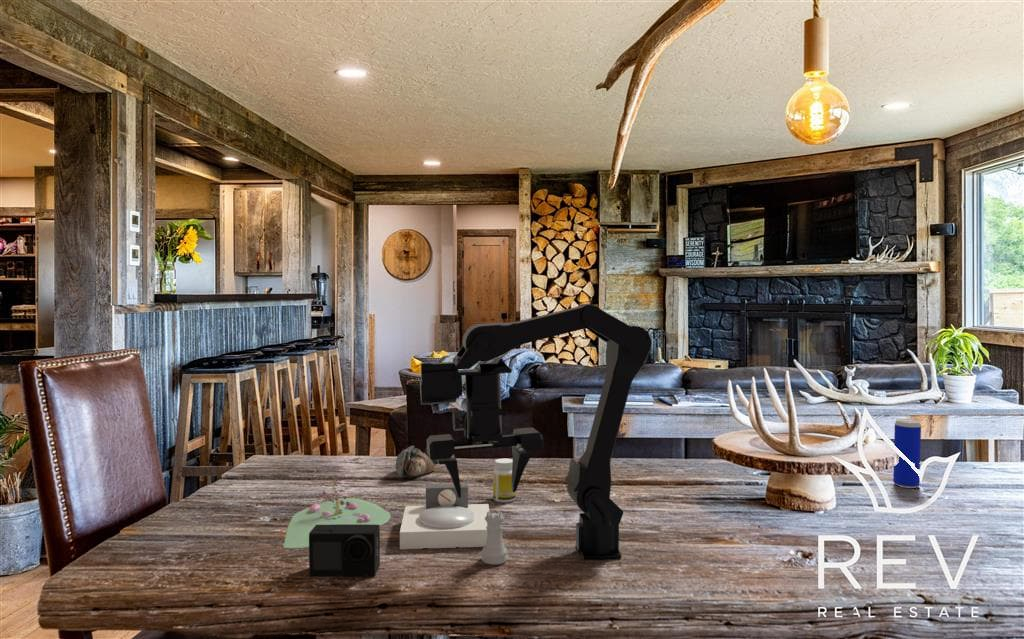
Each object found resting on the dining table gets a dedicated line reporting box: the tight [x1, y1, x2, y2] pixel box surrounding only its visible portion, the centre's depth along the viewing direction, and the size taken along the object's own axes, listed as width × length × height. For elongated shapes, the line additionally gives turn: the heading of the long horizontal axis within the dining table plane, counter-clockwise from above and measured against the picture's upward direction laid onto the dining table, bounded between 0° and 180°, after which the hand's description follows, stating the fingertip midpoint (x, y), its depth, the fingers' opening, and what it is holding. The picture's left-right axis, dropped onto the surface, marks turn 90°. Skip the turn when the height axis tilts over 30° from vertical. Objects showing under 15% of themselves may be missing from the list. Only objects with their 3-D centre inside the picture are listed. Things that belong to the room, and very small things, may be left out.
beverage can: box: [892, 418, 922, 489], centre depth 154 cm, size 5×5×15 cm
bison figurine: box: [395, 445, 439, 477], centre depth 164 cm, size 12×7×10 cm
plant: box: [283, 474, 391, 549], centre depth 129 cm, size 25×21×9 cm
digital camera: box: [308, 524, 381, 577], centre depth 107 cm, size 10×5×7 cm, turn 90°
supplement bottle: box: [492, 458, 516, 503], centre depth 144 cm, size 5×5×8 cm
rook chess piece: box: [480, 510, 509, 566], centre depth 112 cm, size 4×4×8 cm
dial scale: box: [399, 483, 490, 550], centre depth 124 cm, size 16×14×7 cm
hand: (486, 494), depth 112 cm, fingers open, 9 cm apart
